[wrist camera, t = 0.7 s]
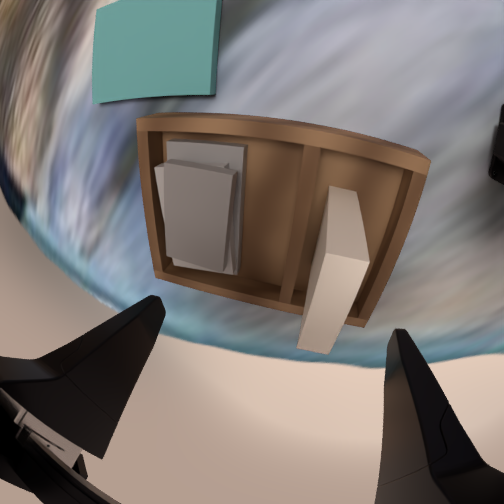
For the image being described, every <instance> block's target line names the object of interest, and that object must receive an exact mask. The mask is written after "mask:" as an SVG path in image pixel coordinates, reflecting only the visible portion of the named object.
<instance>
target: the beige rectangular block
mask: <svg viewBox="0 0 504 504" xmlns="http://www.w3.org/2000/svg"><path fill="white" fill-rule="evenodd" d="M369 263H370V261H369V255H368V248H367V242H366V237H365V231H364V226H363V221H362V215H361V211H360V206H359V201H358V197H357V192H355V191H351V190H347V189H343V188H338V187H333V186H329V188H328V193H327V198H326V203H325V208H324V212H323V217H322V222H321V226H320V231H319V235H318V239H317V244H316V248H315V252H314V256H313V260H312V264H311V270H310V277H309V283H308V289H307V295H306V301H305V306H304V312H303V317H302V323H301V328H300V333H299V338H298V343H297V348H298V349H303V350H308V351H313V352H318V353H323V354H329V352H330V351H331V349H332V347H333V345H334V343H335V341H336V339H337V337H338V334H339V332H340V330H341V328H342V326H343V324H344V322H345V320H346V317H347V315H348V313H349V311H350V309H351V306H352V304H353V302H354V300H355V297H356V295H357V293H358V290H359V288H360V285H361V283H362V280H363V278H364V275H365V273H366V270H367V268H368V265H369Z"/></svg>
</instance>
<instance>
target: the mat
mask: <svg viewBox="0 0 504 504" xmlns="http://www.w3.org/2000/svg"><path fill="white" fill-rule="evenodd" d="M221 8H222V0H119V1H117V2H114V3H111V4H109V5H107V6H104V7H102V8H99V9H97V12H96V20H95V30H94V42H93V62H92V98H93V104H97V103H103V102H110V101H117V100H124V99H133V98H143V97H155V96H171V95H213V94H215V91H216V73H217V57H218V43H219V30H220V18H221Z"/></svg>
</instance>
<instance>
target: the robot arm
mask: <svg viewBox="0 0 504 504" xmlns="http://www.w3.org/2000/svg"><path fill="white" fill-rule="evenodd" d="M494 171H495V175H493V173H494ZM489 175H490V177H491V178H492V179H494V180H496V181H498V182H500V183H502V184H503V185H504V105H503V108H502V114H501V121H500V124H499V130H498V135H497V139H496V144H495V148H494V154H493V158H492V161H491V165H490V169H489ZM165 314H166V311H165V308H164V305H163V303H162V300H161V298H160V297H159V296H155V295H150V296H148V297H146V298H144V299H143V300H141V301H139V302H137V303H136V304H134V305H132V306H131V307H129V308H127V309H126V310H124V311H122V312H120V313H119V314H117V315H115V316H114V317H112V318H110V319H109V320H107V321H105V322H104V323H102V324H101V325H99V326H97V327H95V328H93V329H92V330H90V331H88V332H87V333H85V334H84V335H82V336H80V337H78V338H77V339H75V340H73V341H71V342H70V343H68V344H66V345H64V346H62V347H60V348H58V349H56V350H54V351H52V352H50V353H48V354H46V355H44V356H42V357H40V358H37V359H30V360H29V359H19V358H10V357H2V356H0V478H1V479H2V480H4V481H6V482H8V483H11V484H13V485H15V486H17V487H19V488H22V489H24V490H26V491H29V492H32V493H34V494H35V495H36V497H37V498H38V499H39V500H40V501H41V502H42V503H44V504H121V503H119V502H117V501H116V500H114V499H113V498H111V497H110V496H108V495H107V494H105V493H103V492H102V491H101V490H99V489H98V488H96V487H95V486H93V485H92V484H91V483H89V482H88V481H86V479H87V477H88V475H87V471H86V467H85V463H84V459H83V455H82V454H81V451H82V449H83V450H85V451H87V452H89V453H91V454H92V455H94V456H96V457H98V458H100V459H103V457H104V455H105V452H106V450H107V448H108V445H109V443H110V440H111V438H112V436H113V433H114V431H115V429H116V426H117V424H118V421H119V419H120V417H121V415H122V412H123V410H124V408H125V406H126V404H127V401H128V399H129V397H130V395H131V393H132V390H133V388H134V386H135V384H136V382H137V380H138V378H139V376H140V374H141V371H142V369H143V367H144V365H145V363H146V361H147V359H148V357H149V355H150V353H151V351H152V349H153V346H154V344H155V342H156V339H157V336H158V334H159V331H160V328H161V326H162V323H163V320H164V318H165ZM375 504H504V473H503V472H501V471H499V470H497V469H495V468H493V467H491V466H489V465H488V464H487V463H486V462H485V461H484V460H483V459H482V458H481V456H480V455H479V453H478V452H477V450H476V448H475V446H474V445H473V443H472V442H471V440H470V438H469V437H468V435H467V434H466V432H465V430H464V429H463V427H462V425H461V424H460V422H459V420H458V418H457V416H456V415H455V413H454V411H453V409H452V407H451V405H450V404H449V401H448V400H447V398H446V396H445V394H444V392H443V390H442V389H441V387H440V385H439V383H438V381H437V380H436V378H435V376H434V374H433V373H432V371H431V369H430V368H429V366H428V364H427V362H426V361H425V359H424V358H423V356H422V354H421V353H420V351H419V349H418V348H417V346H416V345H415V343H414V341H413V340H412V338H411V337H410V335H409V334H408V332H407V331H406V330H405V329H395V330H394V331H393V333H392V335H391V338H390V340H389V342H388V346H387V357H386V370H385V381H384V419H383V438H382V451H381V462H380V471H379V479H378V487H377V492H376V499H375Z"/></svg>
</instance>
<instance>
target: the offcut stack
mask: <svg viewBox="0 0 504 504" xmlns="http://www.w3.org/2000/svg"><path fill="white" fill-rule="evenodd" d="M166 142H167V161H166V162H164V163H161V164H159V165H158V166H156V167H154V169H155V175H156V181H157V187H158V192H159V198H160V203H161V208H162V213H163V218H164V223H165V238H166V254H167V256H169V257H172V259H173V263H174V265H175V266H181V267H187V268H193V269H199V270H205V271H212V272H218V273H225V274H231V275H233V274H235V275H237V274H238V272H239V270H240V266H241V248H242V231H243V214H244V197H245V181H246V166H247V151H248V144H240V143H230V142H219V141H207V140H192V139H171V140H169V141H166Z"/></svg>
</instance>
